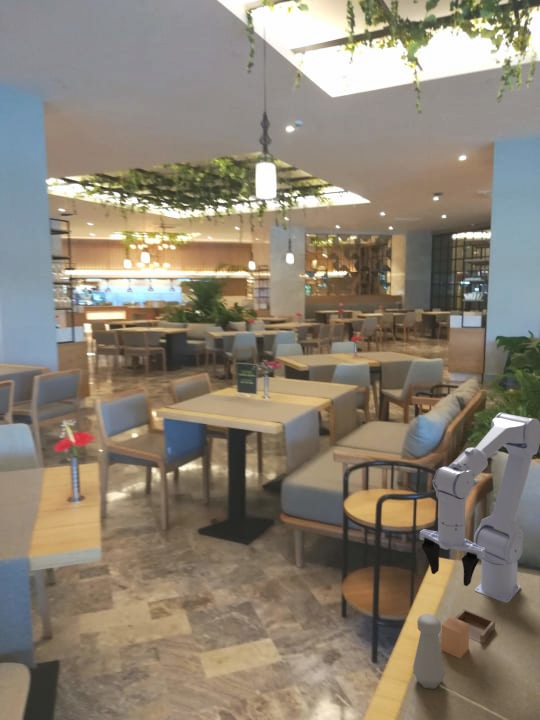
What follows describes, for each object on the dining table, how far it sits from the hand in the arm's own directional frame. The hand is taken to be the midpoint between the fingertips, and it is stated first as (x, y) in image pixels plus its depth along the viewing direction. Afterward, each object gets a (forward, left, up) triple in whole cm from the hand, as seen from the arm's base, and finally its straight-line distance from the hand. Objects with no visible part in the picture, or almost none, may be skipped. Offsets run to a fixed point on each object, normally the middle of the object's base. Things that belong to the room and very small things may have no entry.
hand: (450, 577), depth 120 cm
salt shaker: (+22, +6, -10) cm, 25 cm away
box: (+2, +6, -9) cm, 11 cm away
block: (+11, +6, -10) cm, 15 cm away
